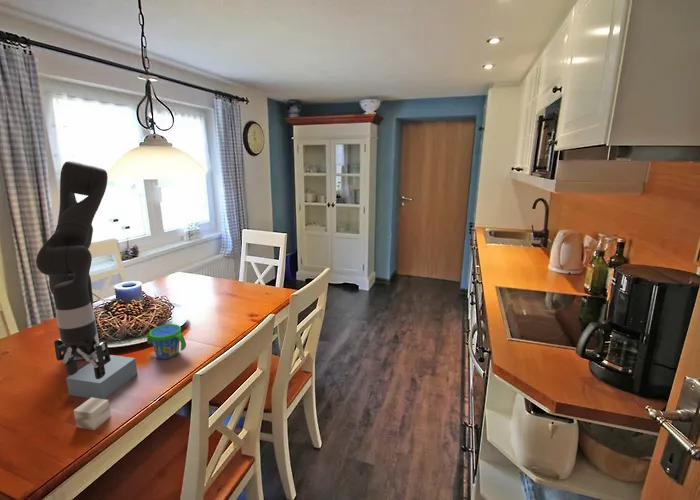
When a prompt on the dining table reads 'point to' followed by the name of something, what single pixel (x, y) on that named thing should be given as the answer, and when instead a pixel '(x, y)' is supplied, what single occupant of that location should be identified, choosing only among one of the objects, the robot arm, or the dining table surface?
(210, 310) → the dining table surface
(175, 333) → the snack cup
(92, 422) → the cream cube
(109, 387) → the slate stand
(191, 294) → the dining table surface
